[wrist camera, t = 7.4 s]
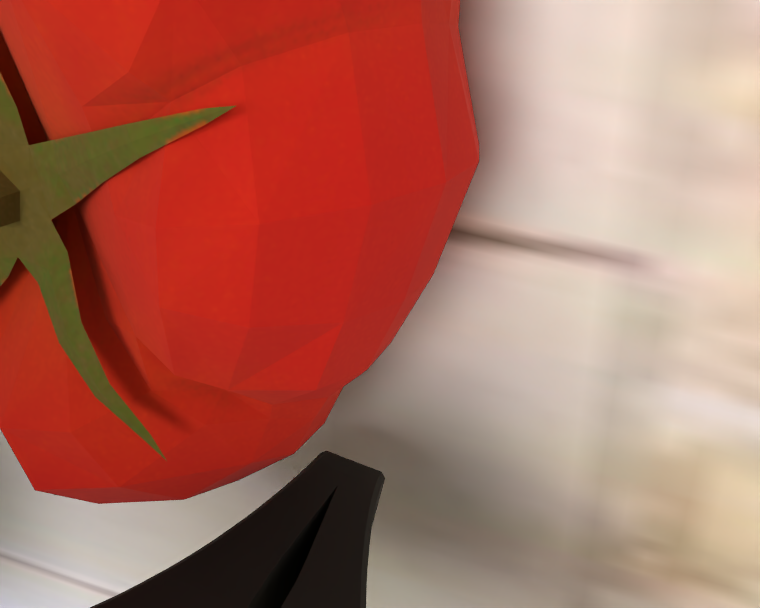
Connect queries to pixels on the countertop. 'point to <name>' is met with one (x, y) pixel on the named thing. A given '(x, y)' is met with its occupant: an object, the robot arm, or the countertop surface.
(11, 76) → the tomato
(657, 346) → the countertop surface
